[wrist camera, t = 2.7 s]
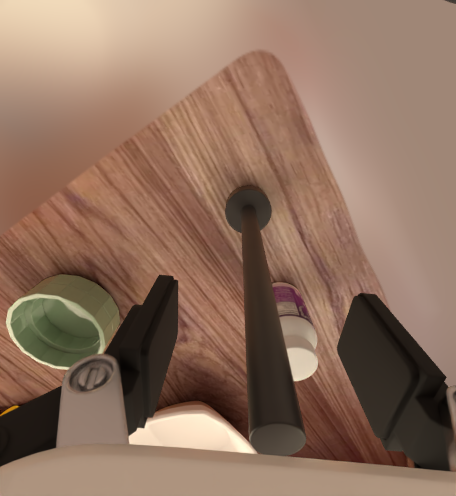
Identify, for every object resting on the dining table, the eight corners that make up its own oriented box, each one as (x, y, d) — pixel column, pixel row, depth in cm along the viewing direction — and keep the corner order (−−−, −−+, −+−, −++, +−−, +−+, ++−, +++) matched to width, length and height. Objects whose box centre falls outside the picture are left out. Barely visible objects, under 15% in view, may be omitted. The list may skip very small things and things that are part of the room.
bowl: (213, 362, 35) (209, 398, 31) (280, 448, 43) (286, 488, 38) (94, 409, 40) (74, 446, 36) (173, 479, 48) (165, 518, 43)
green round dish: (27, 268, 30) (-6, 289, 26) (117, 276, 30) (98, 299, 26) (45, 338, 35) (19, 365, 31) (124, 345, 35) (109, 373, 31)
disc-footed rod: (228, 183, 26) (191, 368, 5) (272, 187, 26) (398, 386, 5) (224, 225, 27) (187, 481, 7) (266, 229, 27) (342, 495, 7)
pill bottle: (305, 312, 32) (330, 382, 23) (262, 321, 32) (271, 392, 23) (297, 275, 29) (322, 336, 21) (251, 285, 30) (257, 348, 21)
